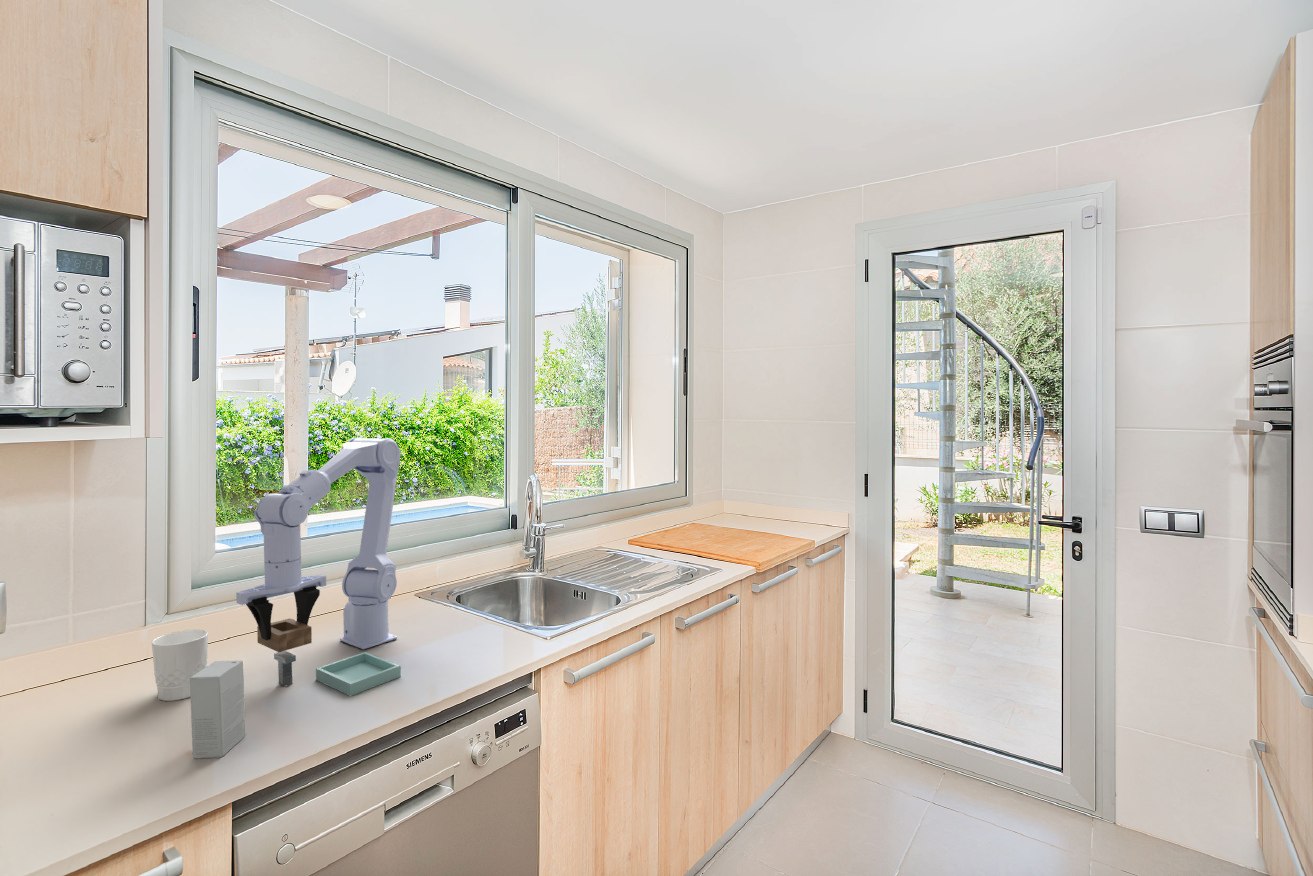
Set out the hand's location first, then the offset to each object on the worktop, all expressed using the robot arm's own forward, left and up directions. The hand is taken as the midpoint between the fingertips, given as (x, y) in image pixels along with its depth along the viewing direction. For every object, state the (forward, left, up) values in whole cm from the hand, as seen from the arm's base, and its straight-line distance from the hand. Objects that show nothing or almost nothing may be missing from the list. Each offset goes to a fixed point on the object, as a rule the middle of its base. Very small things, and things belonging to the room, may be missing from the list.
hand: (284, 633), depth 113 cm
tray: (+9, +9, -9) cm, 16 cm away
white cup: (-11, -12, -10) cm, 19 cm away
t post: (0, 0, -9) cm, 9 cm away
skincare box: (+15, -16, -10) cm, 24 cm away
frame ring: (0, 0, -2) cm, 2 cm away
